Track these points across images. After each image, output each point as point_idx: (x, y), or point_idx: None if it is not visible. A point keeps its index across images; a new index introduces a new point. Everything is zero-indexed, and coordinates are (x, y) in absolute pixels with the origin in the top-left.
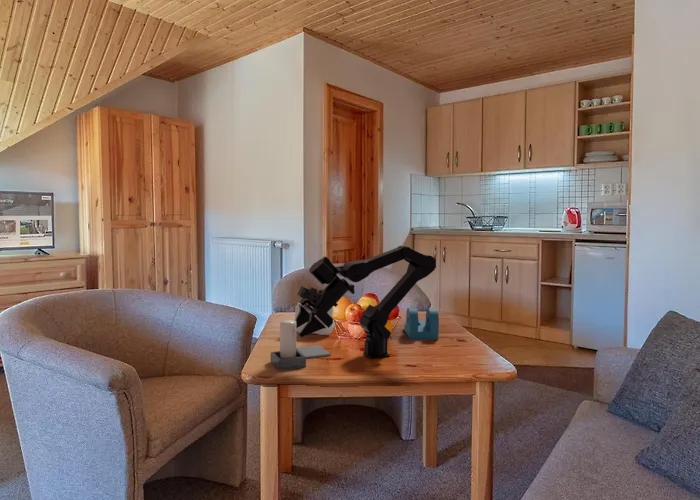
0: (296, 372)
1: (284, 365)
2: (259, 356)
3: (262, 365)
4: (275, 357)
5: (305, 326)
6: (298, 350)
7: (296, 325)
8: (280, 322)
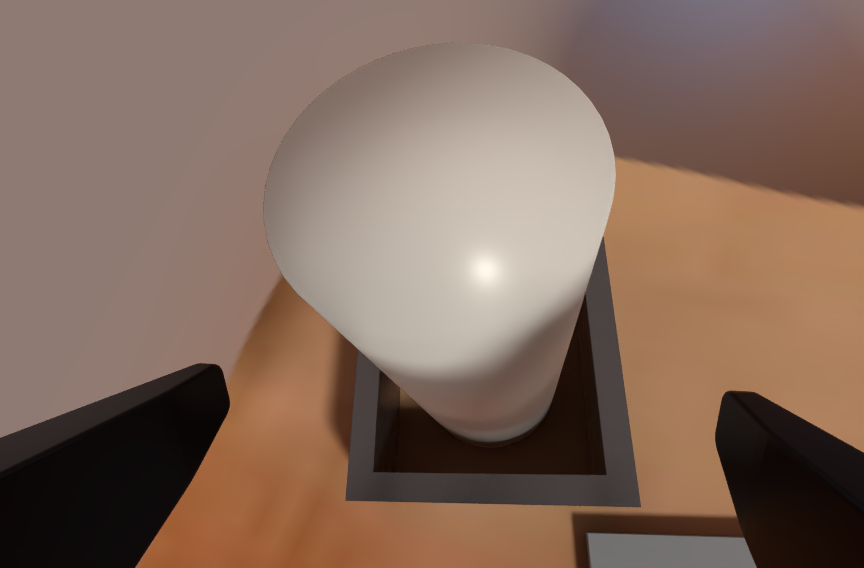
0: (299, 388)
1: None
2: (758, 221)
3: None
4: None
5: (20, 442)
6: (582, 504)
7: (755, 494)
8: (438, 45)
